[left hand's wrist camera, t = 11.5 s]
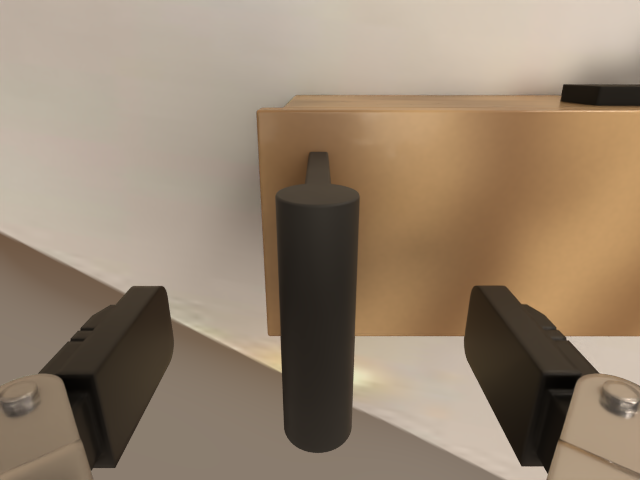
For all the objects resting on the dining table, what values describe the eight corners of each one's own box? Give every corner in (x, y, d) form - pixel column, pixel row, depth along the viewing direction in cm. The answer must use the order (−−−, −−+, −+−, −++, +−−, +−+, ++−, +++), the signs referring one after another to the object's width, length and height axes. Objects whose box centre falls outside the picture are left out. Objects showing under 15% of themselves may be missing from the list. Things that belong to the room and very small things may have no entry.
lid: (270, 321, 19) (237, 489, 12) (260, 107, 16) (203, 141, 8) (628, 322, 19) (833, 489, 12) (694, 108, 16) (1047, 142, 8)
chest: (298, 246, 28) (288, 321, 20) (295, 95, 25) (282, 107, 16) (534, 246, 28) (627, 321, 20) (564, 95, 25) (693, 107, 16)
